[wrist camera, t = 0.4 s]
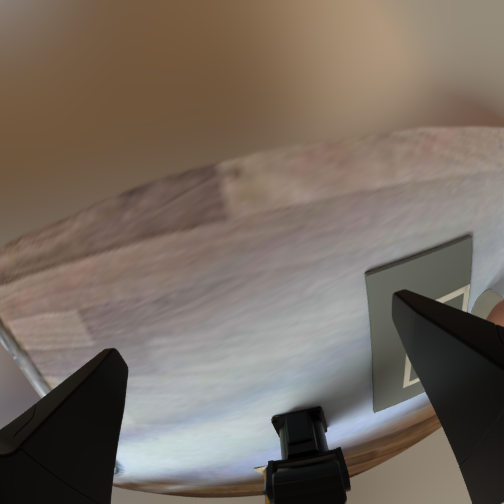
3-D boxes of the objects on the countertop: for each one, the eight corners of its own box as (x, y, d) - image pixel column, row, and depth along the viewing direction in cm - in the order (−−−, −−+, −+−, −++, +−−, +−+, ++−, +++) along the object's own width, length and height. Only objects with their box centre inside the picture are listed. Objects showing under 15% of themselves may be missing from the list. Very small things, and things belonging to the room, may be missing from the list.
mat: (450, 375, 30) (452, 378, 29) (372, 409, 31) (374, 413, 30) (469, 235, 22) (473, 237, 22) (364, 273, 24) (367, 276, 23)
